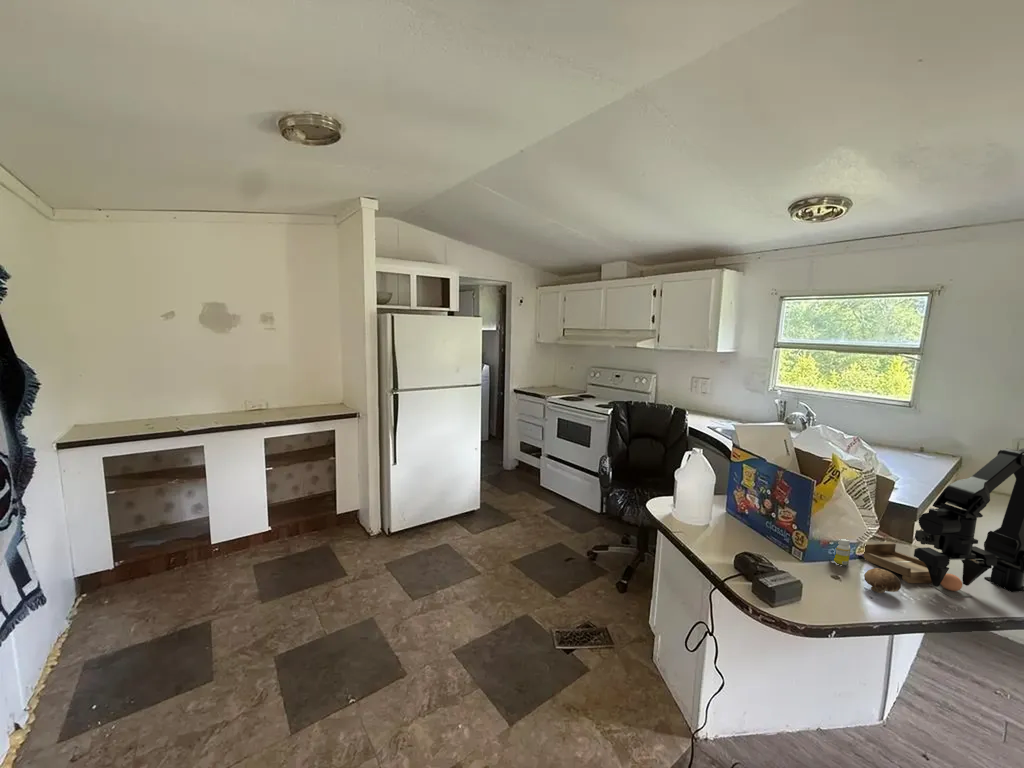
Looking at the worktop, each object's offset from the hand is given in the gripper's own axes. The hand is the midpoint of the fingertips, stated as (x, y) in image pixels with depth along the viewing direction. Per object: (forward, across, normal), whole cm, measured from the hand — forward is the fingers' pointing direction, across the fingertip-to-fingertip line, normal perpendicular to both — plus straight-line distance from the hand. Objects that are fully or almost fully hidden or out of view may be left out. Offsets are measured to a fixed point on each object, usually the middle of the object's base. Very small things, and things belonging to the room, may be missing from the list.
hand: (950, 585), depth 118 cm
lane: (+2, +4, -11) cm, 11 cm away
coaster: (+2, 0, 0) cm, 2 cm away
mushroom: (+2, +21, 0) cm, 21 cm away
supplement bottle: (+2, +20, -15) cm, 25 cm away
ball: (+1, 0, 0) cm, 1 cm away
